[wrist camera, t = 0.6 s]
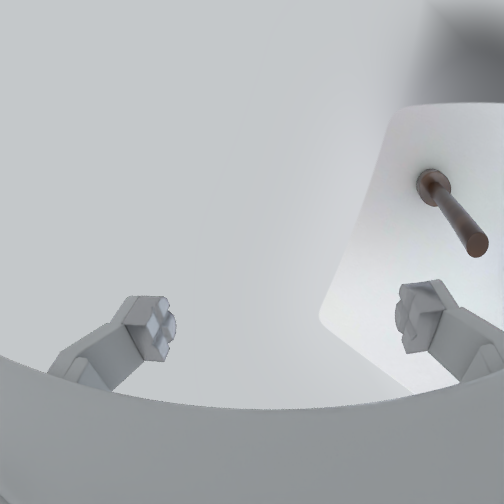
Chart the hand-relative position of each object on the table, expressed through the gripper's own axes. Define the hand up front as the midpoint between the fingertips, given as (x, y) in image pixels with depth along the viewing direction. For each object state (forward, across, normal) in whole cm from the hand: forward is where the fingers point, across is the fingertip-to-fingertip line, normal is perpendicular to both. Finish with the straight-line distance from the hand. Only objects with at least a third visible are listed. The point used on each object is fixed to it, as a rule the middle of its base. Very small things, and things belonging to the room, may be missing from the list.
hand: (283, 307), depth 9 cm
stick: (+25, -19, +4) cm, 32 cm away
